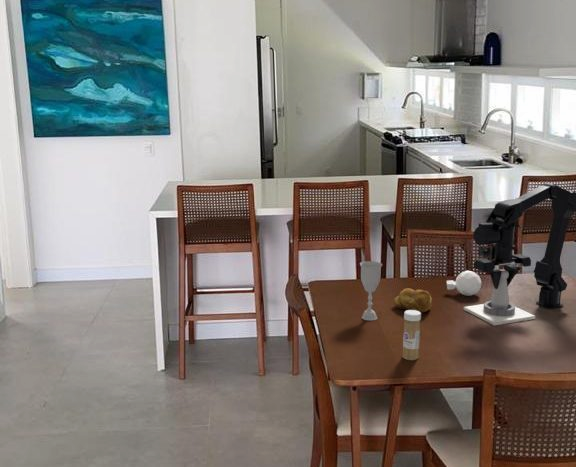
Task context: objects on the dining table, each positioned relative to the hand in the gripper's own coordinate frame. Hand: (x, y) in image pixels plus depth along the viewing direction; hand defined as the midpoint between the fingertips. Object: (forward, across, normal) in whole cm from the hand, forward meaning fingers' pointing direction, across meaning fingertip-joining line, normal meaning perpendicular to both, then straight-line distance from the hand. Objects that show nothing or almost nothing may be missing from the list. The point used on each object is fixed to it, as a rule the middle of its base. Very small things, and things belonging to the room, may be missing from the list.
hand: (500, 288), depth 235 cm
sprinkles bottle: (+9, +46, +20) cm, 51 cm away
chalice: (+9, +41, -13) cm, 44 cm away
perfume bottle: (+9, -2, -22) cm, 24 cm away
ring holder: (+9, 0, 0) cm, 9 cm away
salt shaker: (+7, 0, 0) cm, 7 cm away
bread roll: (+9, +23, -15) cm, 29 cm away
